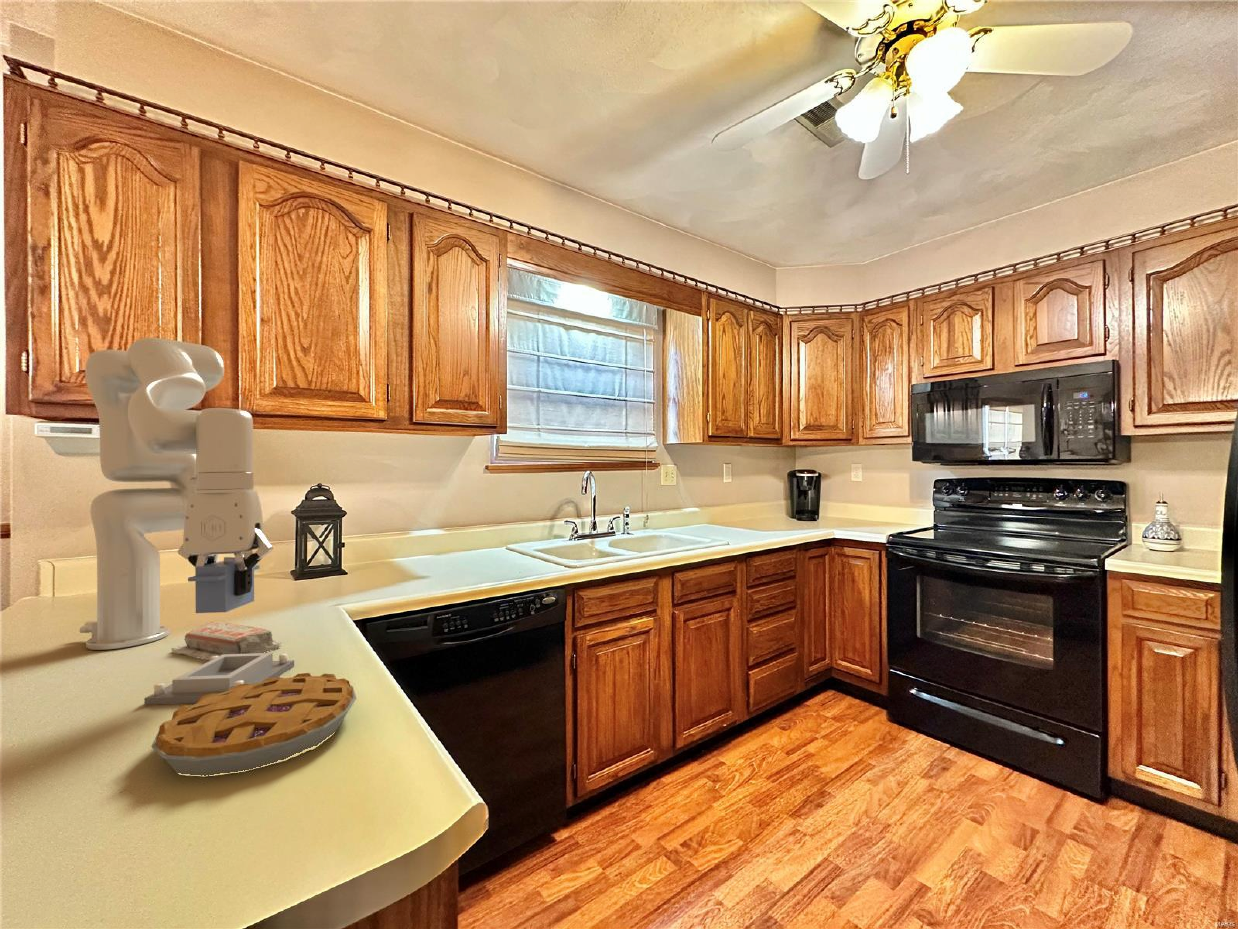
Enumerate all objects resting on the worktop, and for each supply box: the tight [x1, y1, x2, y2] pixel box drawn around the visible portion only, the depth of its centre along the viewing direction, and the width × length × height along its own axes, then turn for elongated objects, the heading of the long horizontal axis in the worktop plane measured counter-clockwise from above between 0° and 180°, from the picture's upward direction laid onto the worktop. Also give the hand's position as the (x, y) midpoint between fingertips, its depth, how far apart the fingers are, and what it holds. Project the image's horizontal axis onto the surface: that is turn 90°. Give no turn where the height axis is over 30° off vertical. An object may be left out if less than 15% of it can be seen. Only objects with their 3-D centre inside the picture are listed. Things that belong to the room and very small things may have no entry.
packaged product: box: [171, 621, 282, 661], centre depth 101 cm, size 18×5×10 cm
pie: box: [150, 672, 357, 776], centre depth 68 cm, size 22×22×5 cm
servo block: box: [187, 555, 261, 614], centre depth 84 cm, size 4×10×8 cm, turn 4°
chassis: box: [143, 652, 295, 706], centre depth 84 cm, size 14×14×3 cm
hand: (226, 593), depth 84 cm, fingers closed on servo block, 4 cm apart
